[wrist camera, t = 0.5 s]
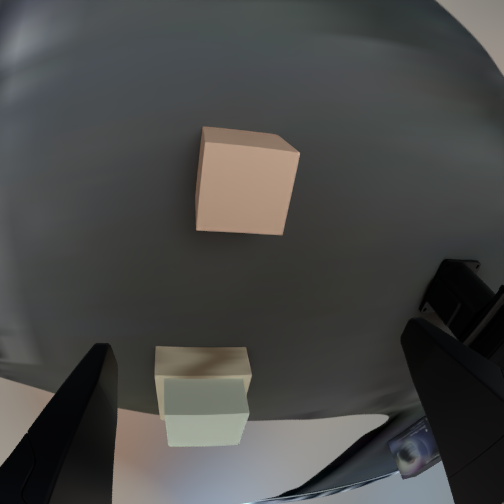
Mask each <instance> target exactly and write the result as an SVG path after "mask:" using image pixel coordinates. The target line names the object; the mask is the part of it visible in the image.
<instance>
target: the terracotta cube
mask: <svg viewBox="0 0 504 504" xmlns="http://www.w3.org/2000/svg"><path fill="white" fill-rule="evenodd" d="M299 156H300V152H298V151H297V150H296V149H295V148H293V147H292V146H291V145H290V144H288V143H287V142H286V141H285V140H283V139H282V138H281V137H280V136H278V135H275V134H268V133H260V132H252V131H244V130H235V129H225V128H214V127H203V128H202V137H201V145H200V154H199V163H198V173H197V183H196V194H195V208H196V230H199V231H218V232H237V233H255V234H272V235H282V234H283V230H284V225H285V221H286V216H287V212H288V207H289V203H290V198H291V194H292V189H293V184H294V180H295V175H296V171H297V166H298V161H299Z"/></svg>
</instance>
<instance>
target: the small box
mask: <svg viewBox="0 0 504 504" xmlns="http://www.w3.org/2000/svg"><path fill="white" fill-rule="evenodd" d="M387 443H388V445H389V447H390V450H391V452H392V454H393V457H394V459H395V461H396V464H397V466H398V469H399V471H400V474H401V476H402V478H403V479H407V478H411V477H415V476H417V475H419V474H421V473H422V472H424V471H426V470H427V469H429V468H430V467H432V466H434V465H435V464H437V463H438V462H440V461H441V460H442V459H441V456H440V453H439V450H438V447H437V444H436V442H435V439H434V436H433V433H432V430H431V427H430V425H429V422H428V419H427V417H423V418H421V419H420V420H419V421H417V422H416V423H415V424H413V425H412V426H410V427H409V428H408V429H406V430H405V431H403V432H402V433H400V434H399V435H398V436H396V437H395V438H393V439H391V440H390V441H388V442H387Z"/></svg>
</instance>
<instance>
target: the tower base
mask: <svg viewBox="0 0 504 504" xmlns="http://www.w3.org/2000/svg"><path fill="white" fill-rule="evenodd" d="M251 377H252V372H251V368H250V363H249V359H248V354H247V350H246V347H164V346H156V352H155V383H156V390H157V398H158V405H159V412H160V418H161V420H165V415H164V378H167V379H225V378H243V383H244V388H245V393H246V395H247V391H248V388H249V384H250V380H251Z"/></svg>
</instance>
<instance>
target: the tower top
mask: <svg viewBox="0 0 504 504" xmlns="http://www.w3.org/2000/svg"><path fill="white" fill-rule="evenodd" d="M249 414H250V412H249V407H248V402H247V397H246V393H245V388H244V383H243V378H225V379H167V378H164V415H165V423H166V431H167V438H168V445H169V447H171V446H172V447H195V446H197V447H198V446H224V445H239V443H240V440H241V437H242V434H243V431H244V428H245V425H246V422H247V419H248V417H249Z"/></svg>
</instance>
